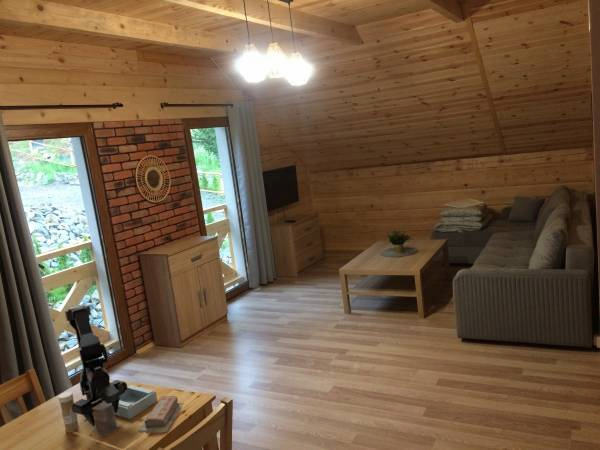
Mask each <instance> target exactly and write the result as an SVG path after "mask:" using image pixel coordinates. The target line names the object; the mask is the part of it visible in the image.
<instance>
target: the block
mask: <svg viewBox="0 0 600 450" xmlns="http://www.w3.org/2000/svg"><path fill="white" fill-rule="evenodd" d="M92 409H93V410H94V411H93V417H94V422H95V429H97V430H100V431H103V432H106V433H108V432H109V431H111V430H113V429H114V428H116V427H117V424H118V423H117V421H116V415H115V414H114V409H113V405H109V404H105V403H100V404H98V405H97V406H95V407H93V408H92ZM116 423H117V424H116ZM116 429H117V428H116ZM114 430H115V429H114ZM114 430H113V431H114ZM111 432H112V431H111ZM108 434H109V433H108Z"/></svg>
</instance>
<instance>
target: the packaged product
mask: <svg viewBox="0 0 600 450" xmlns="http://www.w3.org/2000/svg"><path fill="white" fill-rule="evenodd" d="M178 400H179V399H178V396H175V395H166V396H163V395H162V396H161V397H160V398H159V399H158V400H157V402H156V404H155V405H154V406H153V408H152V409H151V411H150V412H149V413H148V415H147V416H146V418H145V420H144V422H143V423H142V425H141V426H140V428H139V429H138V432H141V433H143V432H144V433H145V434H154V433H155V434H157V433H158V434H159V433H167V432H168V430H169V429H170V427H171V425H172V424H173V422H174V421H175V420H176V419H177V416H178V414H179V413H180V411H181V409H182V406H183V404H184V402H179V401H178Z"/></svg>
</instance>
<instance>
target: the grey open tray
mask: <svg viewBox="0 0 600 450" xmlns="http://www.w3.org/2000/svg"><path fill="white" fill-rule="evenodd" d="M127 387H128V389H127V390H125V393H124V394H122V396H121V397H120V400H119V405H118V410H117V413H115V412H114V414H115V416H118V417H122V418H124V419H128V420H130V419H133V418H134V417H135V416H137V415H138V414H140V413H142V412H143V411H144V410H146V409H148V408H149V407H151V406H152V405H154V404H155V403H156V404H157V402H158V396H157V391H156V390H152V389H148V388H145V387H140V386H137V385H133V384H129V385H127ZM102 402H103V403H105V404H108V403H106V402H105V401H102ZM109 405H112V404H111V403H110V404H109Z"/></svg>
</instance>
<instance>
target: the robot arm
mask: <svg viewBox="0 0 600 450" xmlns="http://www.w3.org/2000/svg"><path fill="white" fill-rule="evenodd" d="M64 315H65V319H66V321H67V322H68V324H69V325H70V326H71V327H72V329H74V331H75V336H76V340H77V345H78V354H79V357H80V361H81V365H82V369H81V372H80V380H79V388H80V392H81V395H82V396H83V397H84V396H85V398H86V399H84V398H81V399H79V400H77V401H76V402H74V403H73V405H72V411H73V412H75V413H76V414H78V415H82V416H83V417H84V418H85V419H86V420H87V421H88V422H89V424H90V425H91V427H96V425H95V420H94V415H93V411H94V410H93V409H92V408H93V407H95V406H97V405H98V404H100V403H103V402H102V401H105V402H106V403H108V404H110V403H111V404H112V405H113V409H114V412H115V413H117V410H118V405H119V400H120V397H121V396H122V394H124V393H125V390H127V389H128V384H127V382H126V381H124V380H123V381H122V380H120V379H115V380H113V381H111V380H110V379H111V378H110V375H109V373H108V371H107V369H106V368H105V365H104V364H106V363H108V362H109V361H108V358H109V354H108V352H107V348H106V345H105V344H104V343H103V342H101V341H100V338H99V336H96V335H95V334H94V332H93V329H92V326H91V323H90V322H91V321H90V319H91V318H90V316H91V315H92V311H91V308H90V305H87V306H86V305H85V303H82V304H78V305H74V306H70V307H67V310H65V311H64ZM110 381H111V382H110Z"/></svg>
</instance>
